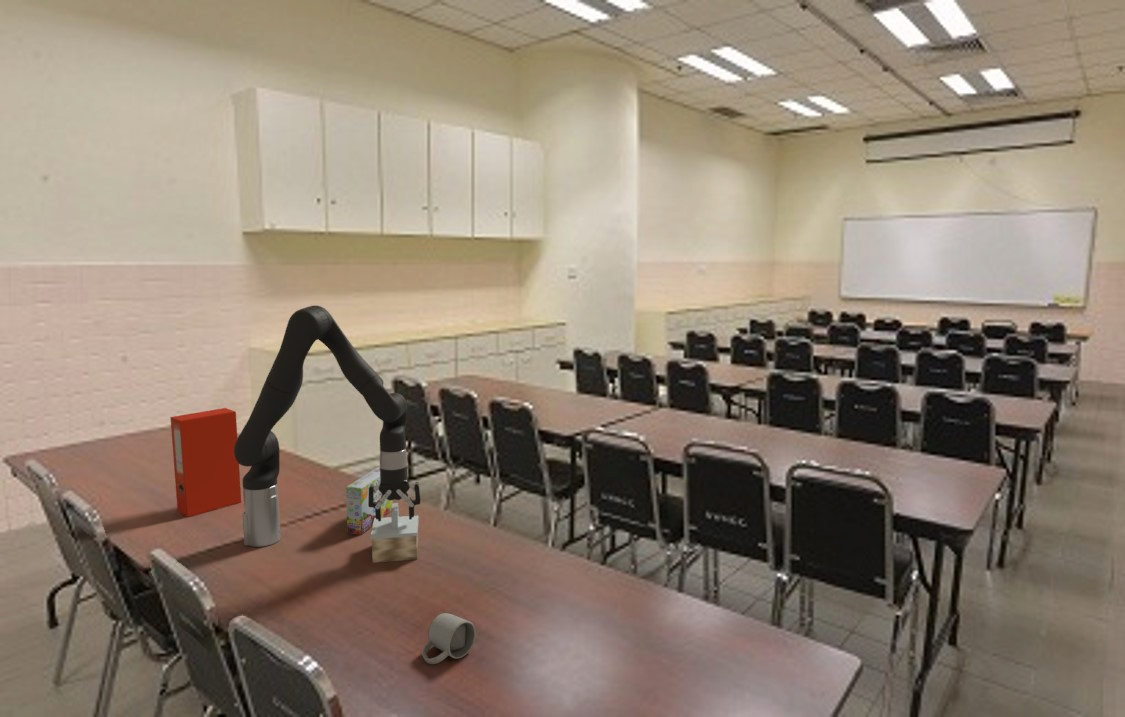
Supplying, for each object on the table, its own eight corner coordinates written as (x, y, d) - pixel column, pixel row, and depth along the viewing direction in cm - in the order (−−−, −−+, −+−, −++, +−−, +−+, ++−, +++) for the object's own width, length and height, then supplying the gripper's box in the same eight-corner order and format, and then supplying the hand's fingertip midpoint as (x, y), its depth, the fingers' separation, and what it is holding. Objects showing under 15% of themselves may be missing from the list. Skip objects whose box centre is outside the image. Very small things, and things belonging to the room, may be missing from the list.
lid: (370, 543, 184) (369, 516, 183) (374, 525, 196) (373, 500, 195) (417, 540, 186) (416, 513, 185) (418, 522, 199) (418, 497, 197)
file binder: (241, 502, 228) (235, 411, 223) (188, 517, 215) (180, 420, 210) (230, 497, 233) (224, 407, 228) (177, 511, 220) (169, 416, 215)
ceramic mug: (451, 635, 150) (450, 603, 149) (476, 648, 145) (475, 616, 144) (413, 657, 142) (412, 624, 141) (439, 672, 137) (437, 638, 136)
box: (372, 562, 185) (371, 538, 184) (376, 544, 197) (375, 521, 196) (416, 559, 187) (416, 535, 186) (417, 541, 199) (417, 519, 198)
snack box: (363, 535, 203) (361, 488, 201) (346, 534, 204) (344, 486, 202) (394, 510, 224) (393, 466, 221) (378, 508, 225) (377, 465, 222)
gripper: (365, 470, 183) (368, 526, 186) (419, 467, 186) (420, 522, 188) (368, 461, 191) (370, 516, 193) (419, 459, 193) (421, 512, 196)
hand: (395, 519), depth 191 cm, fingers open, 8 cm apart
